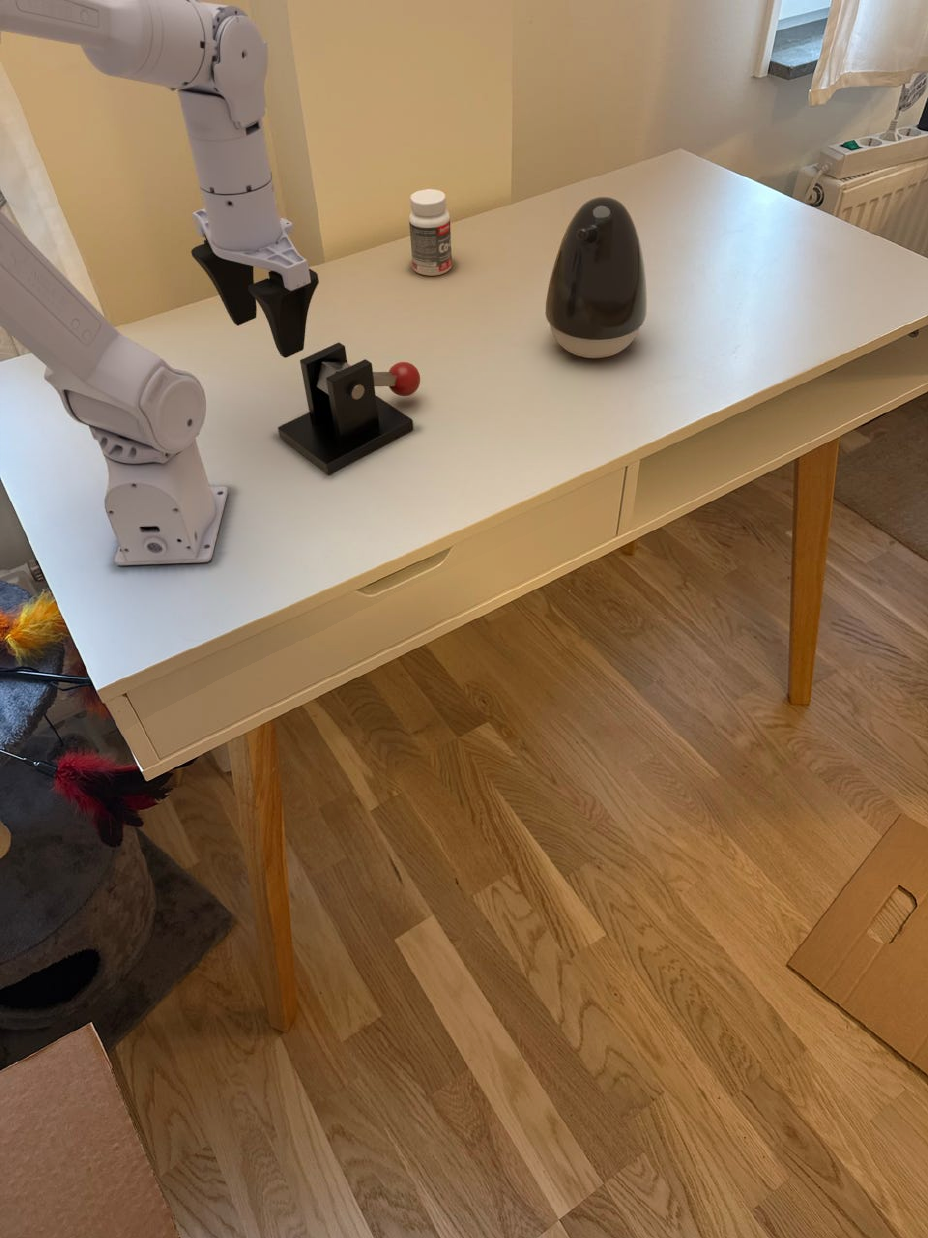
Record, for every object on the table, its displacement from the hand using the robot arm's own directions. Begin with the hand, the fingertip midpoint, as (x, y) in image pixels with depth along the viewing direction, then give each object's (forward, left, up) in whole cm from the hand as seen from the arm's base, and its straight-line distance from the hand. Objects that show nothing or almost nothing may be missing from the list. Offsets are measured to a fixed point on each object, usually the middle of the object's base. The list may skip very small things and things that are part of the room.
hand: (268, 336), depth 83 cm
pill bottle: (+31, -14, -10) cm, 35 cm away
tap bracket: (-2, -6, -9) cm, 11 cm away
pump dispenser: (+12, -31, -10) cm, 35 cm away
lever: (0, -8, -7) cm, 11 cm away
